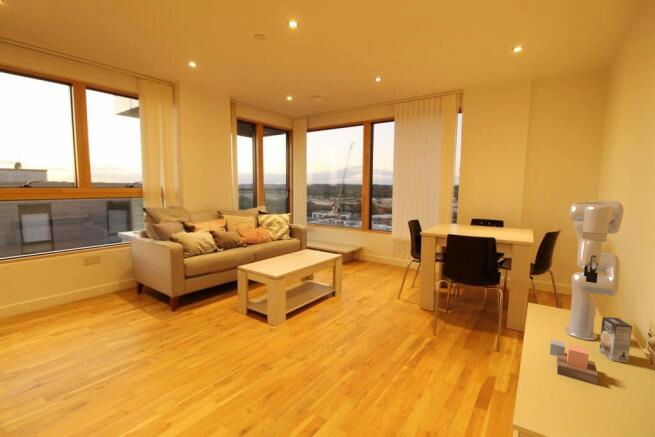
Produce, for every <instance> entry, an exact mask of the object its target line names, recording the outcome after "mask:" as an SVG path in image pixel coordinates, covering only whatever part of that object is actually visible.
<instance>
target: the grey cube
mask: <svg viewBox="0 0 655 437" xmlns="http://www.w3.org/2000/svg"><path fill="white" fill-rule="evenodd" d="M565 350H566V343H565V342H564V341H560V340H556V339H550V345H549V355H551V356H553V357H554V356H555V357H557V353H561V354H565V352H566V351H565Z"/></svg>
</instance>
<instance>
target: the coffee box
mask: <svg viewBox="0 0 655 437" xmlns="http://www.w3.org/2000/svg"><path fill="white" fill-rule="evenodd" d="M601 318H602V319H601V330H600V336H599V339H600V340H599V345H598V351H599V352H600V353H602V354H603V355H604V356H605V357H606V358H607V359H608V360H610V361H612V362H618V363H619V362H620V363H628V362H629V356H630V348H631V339H632V333H633V325H630V324H629V323H627V322H626V321H625V320H622V319H621V318H619V317H611V316H602V317H601Z"/></svg>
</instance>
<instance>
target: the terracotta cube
mask: <svg viewBox="0 0 655 437" xmlns="http://www.w3.org/2000/svg"><path fill="white" fill-rule="evenodd" d="M566 355H567V364H569V365H573V366H576V367H580V368H583V369H587V365H588V360H589V349H588V348H587V347H584V346H579V345H575V344H572V343H568V344H567V353H566Z"/></svg>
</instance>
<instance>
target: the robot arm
mask: <svg viewBox="0 0 655 437" xmlns="http://www.w3.org/2000/svg"><path fill="white" fill-rule="evenodd" d="M568 213H569V214H568V215H569V216H568V217H569V219H570V220H571V221H572V222H573V228H574V233H575V236H576V238H577V253H576V254H577V257H576V265H577V268H579V269H581V270H583V271H576V272H574V273H572V275H571V282H570V283H571V303H570V312H569V325H568V326H567V327H565V328H564V332H565V333H566V334H567V335H569V336H571V337H573V338H576V339H579V340H584V341H596V340H597V339H598V335H597V334H596V333H594V330H595V329H594V328H595V321H596V320H595V319H596V310H597V300H596V299H595V298H594V297H593V295H592V294H595V295H600V296H601V295H602V296H608V297H614V296H615V297H616V296H617V295H618V292H619V287H620V286H619V285H620V269H621V268H620V266H621V265H620V258H619V257H618V255H617V254H614V253H609V252H608V253H607V252H602V251H603V243H607V241H608V240H607V239H608V235H615V234H617V233H619V231H620V229H621V225H622V221H623V218H624V206H623V204H622V203H621V202H620V201H616V200H593V199H592V200H589V201H584V202H573V203H572V204H571V206H570V208H569V212H568ZM599 273H600V274H599ZM601 273H604V274H601Z"/></svg>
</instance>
